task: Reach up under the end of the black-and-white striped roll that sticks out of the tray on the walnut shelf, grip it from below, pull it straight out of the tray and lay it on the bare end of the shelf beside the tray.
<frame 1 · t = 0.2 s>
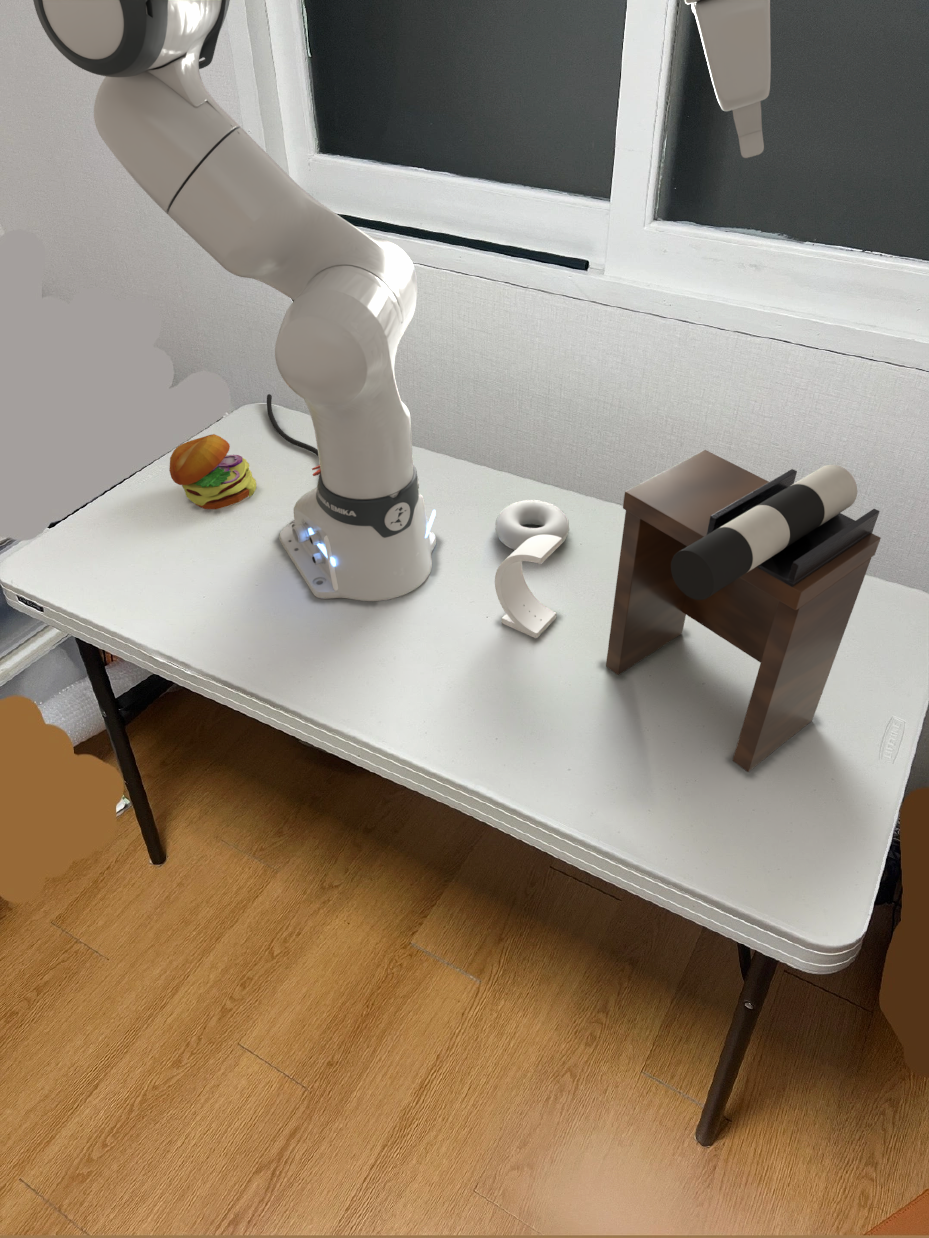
hand: (751, 138, 76), 52 cm above the table, tool tilted 20°, fingers open, 8 cm apart
roll: (762, 549, 78), point 24 cm above the table, touching tray
tray: (789, 535, 80), resting on shelf
shelf: (705, 692, 99), on the table
headphone stand: (525, 620, 109), on the table
cheeseburger: (217, 496, 130), on the table
donut: (531, 537, 121), on the table
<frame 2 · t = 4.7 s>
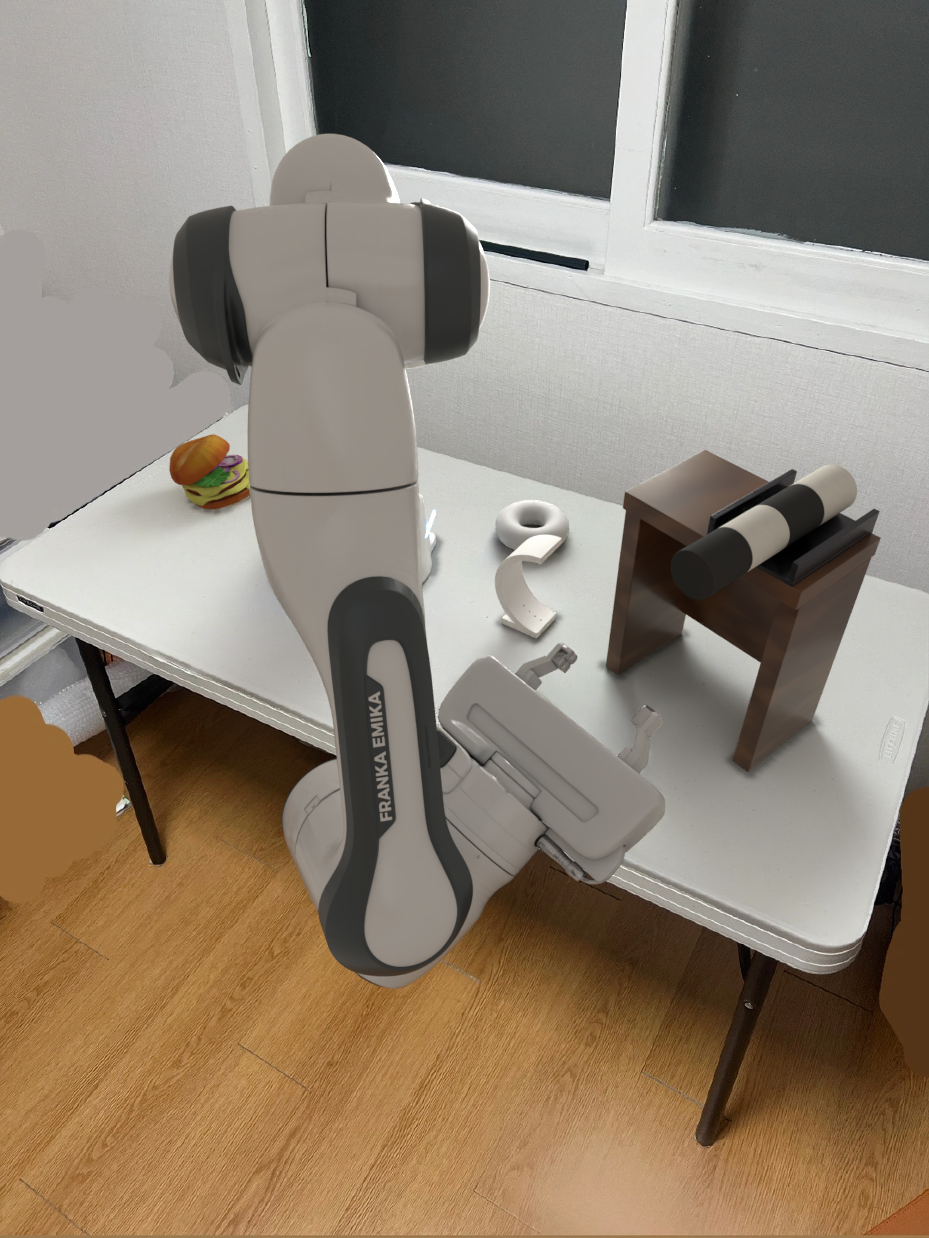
hand: (610, 679, 72), 20 cm above the table, tool pointing upward, fingers open, 8 cm apart
nothing on the table moved.
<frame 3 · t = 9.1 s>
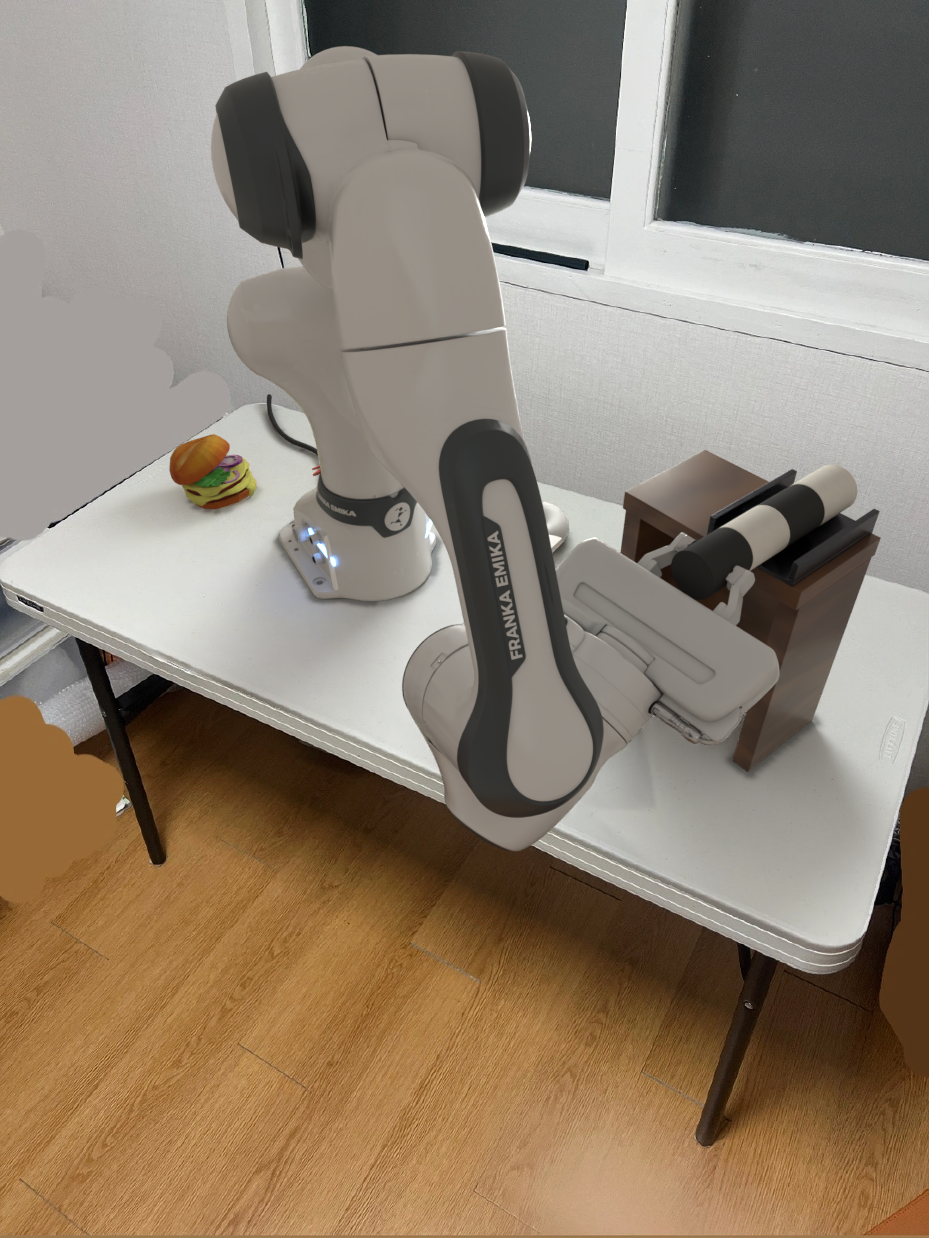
hand: (718, 555, 73), 27 cm above the table, tool pointing upward, fingers closed on roll, 4 cm apart
roll: (762, 549, 78), point 24 cm above the table, touching gripper, tray
everything else where it was.
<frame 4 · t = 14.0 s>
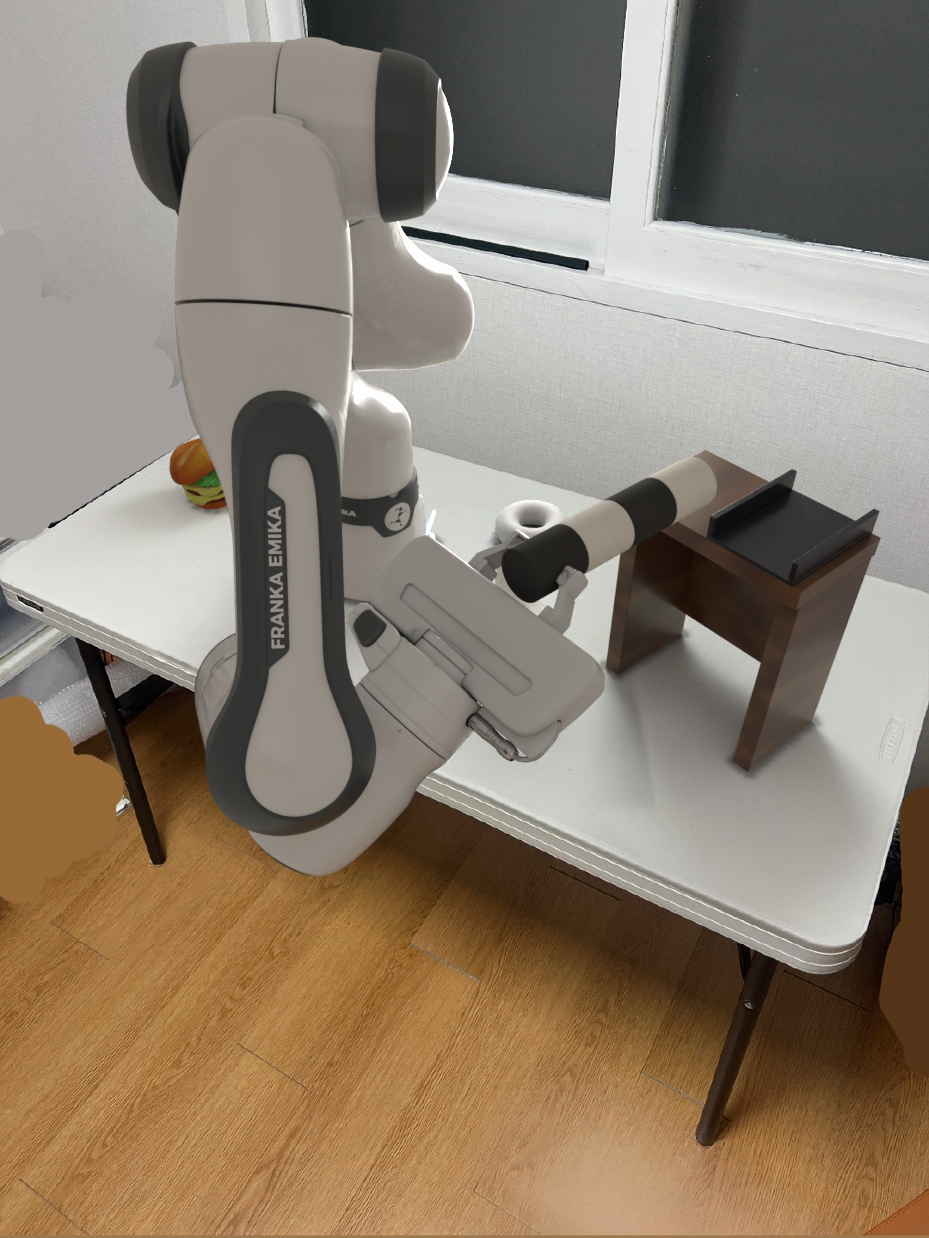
hand: (552, 554, 68), 31 cm above the table, tool pointing upward, fingers closed on roll, 4 cm apart
roll: (611, 547, 72), point 28 cm above the table, touching gripper
everything else where it was.
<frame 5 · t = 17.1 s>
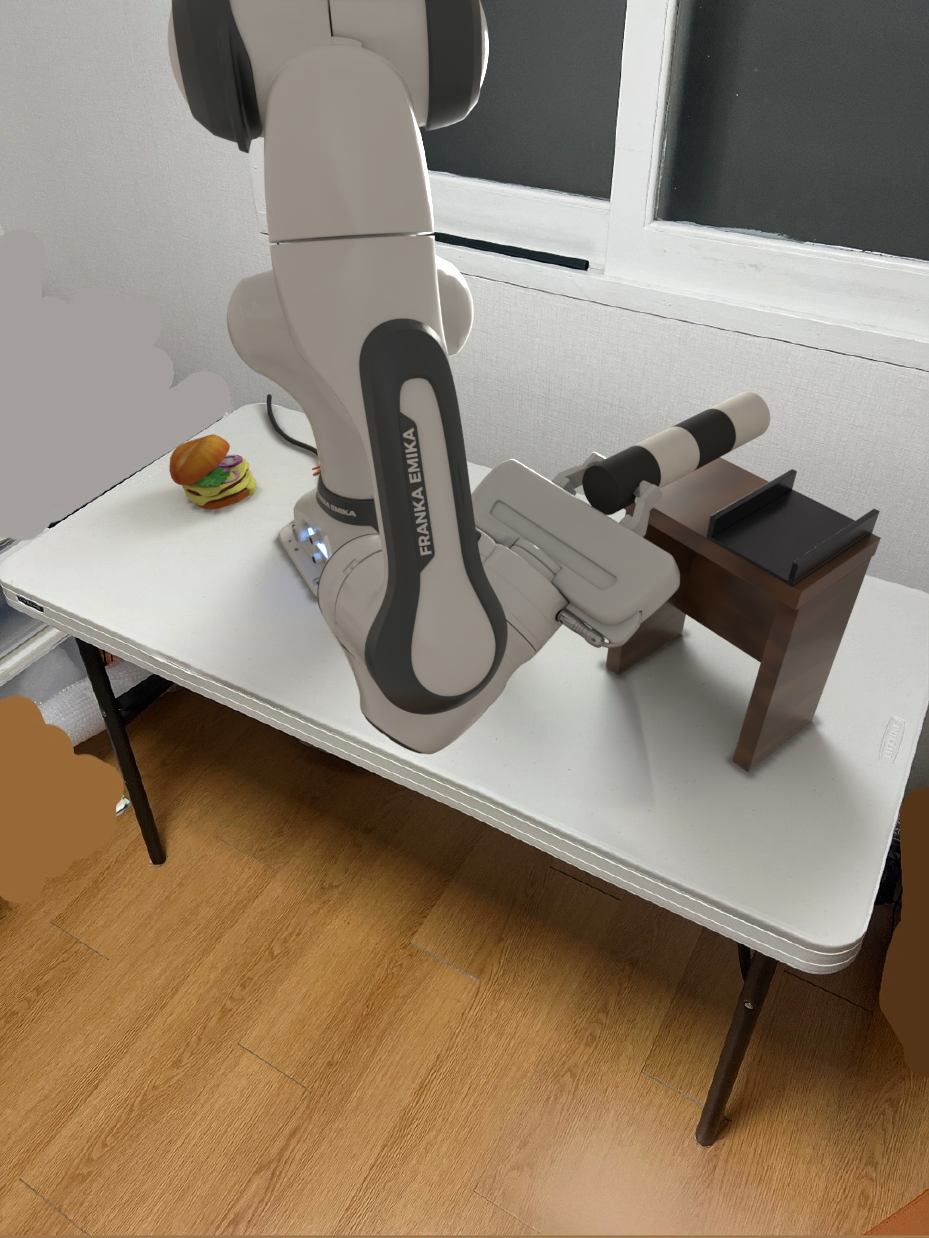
hand: (628, 472, 76), 31 cm above the table, tool pointing upward, fingers closed on roll, 4 cm apart
roll: (676, 471, 81), point 28 cm above the table, touching gripper
everything else where it was.
when the fingers open (27 cm above the table, at t = 19.2 s): roll stays where it is, resting on shelf.
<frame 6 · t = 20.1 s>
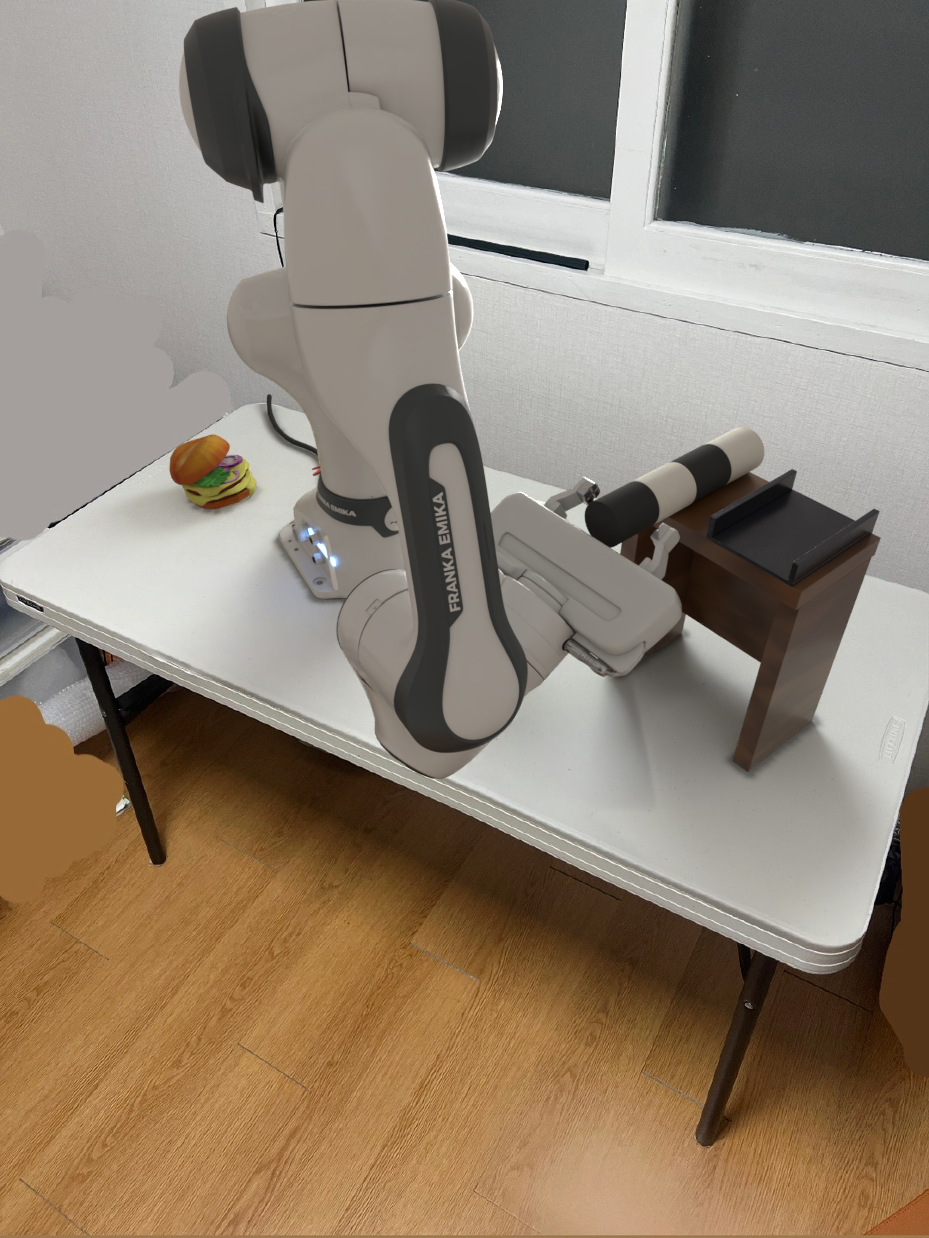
hand: (631, 505, 79), 27 cm above the table, tool pointing upward, fingers open, 8 cm apart
roll: (679, 506, 84), point 24 cm above the table, tilted 14°, touching shelf
everything else where it was.
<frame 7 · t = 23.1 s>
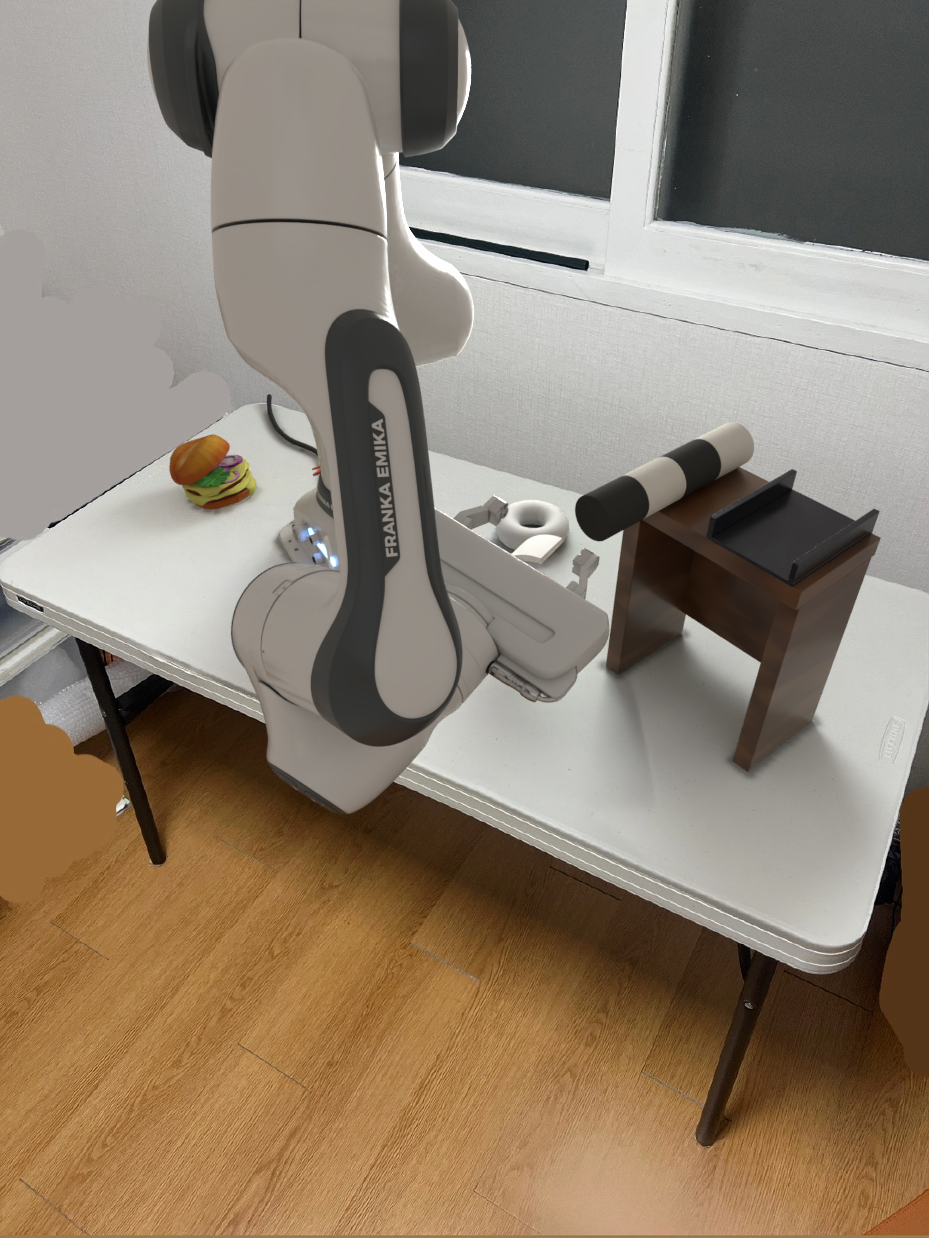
hand: (546, 529, 76), 27 cm above the table, tool horizontal, fingers open, 8 cm apart
roll: (678, 499, 84), point 25 cm above the table, tilted 46°, touching shelf
everything else where it was.
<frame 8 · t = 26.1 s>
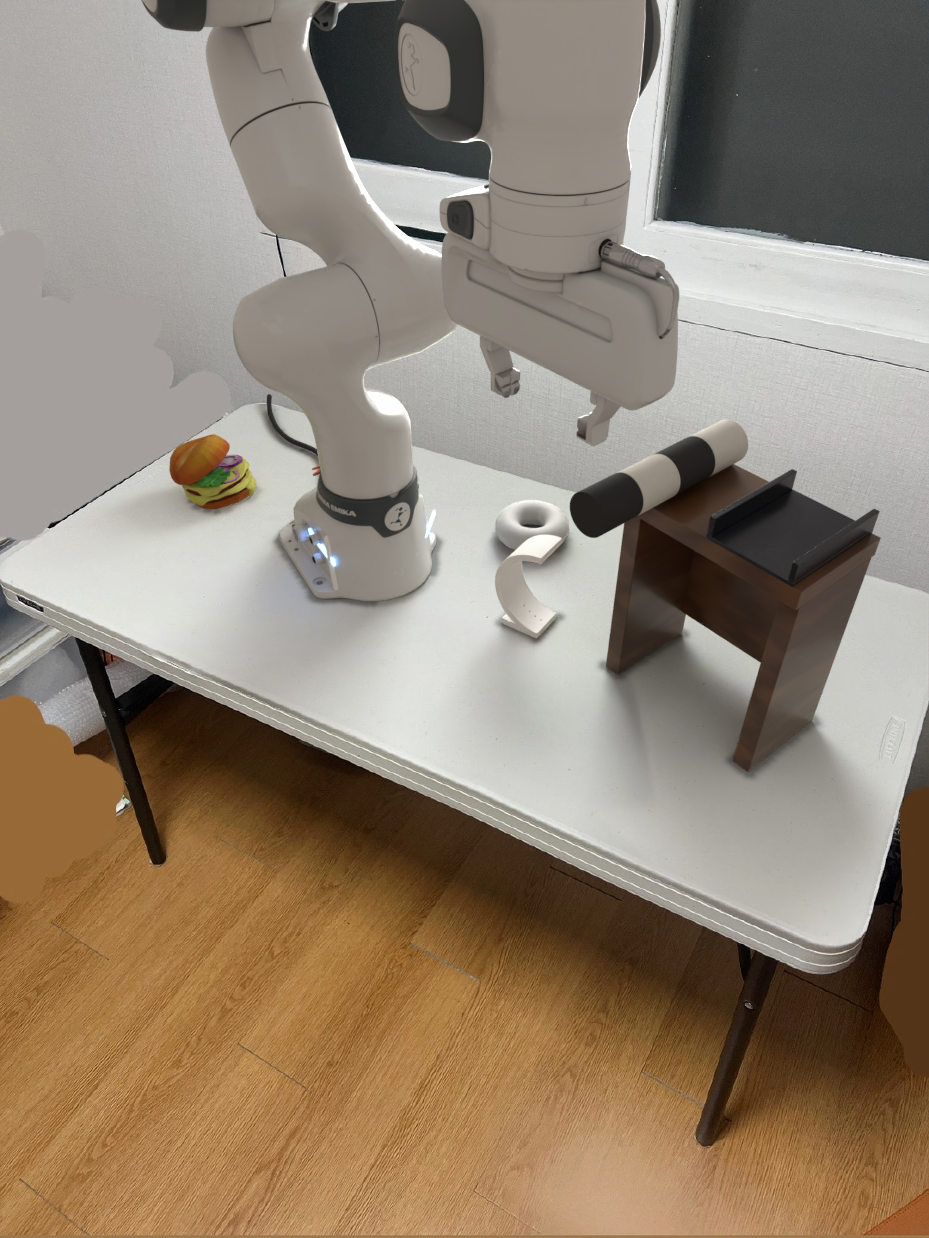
hand: (546, 415, 67), 39 cm above the table, tool pointing down, fingers open, 8 cm apart
roll: (677, 493, 83), point 25 cm above the table, tilted 64°, touching shelf
everything else where it was.
at the end: roll inside the target area (0.4 cm from its centre), point 25.2 cm above the table; roll touching shelf; the gripper is holding nothing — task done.
